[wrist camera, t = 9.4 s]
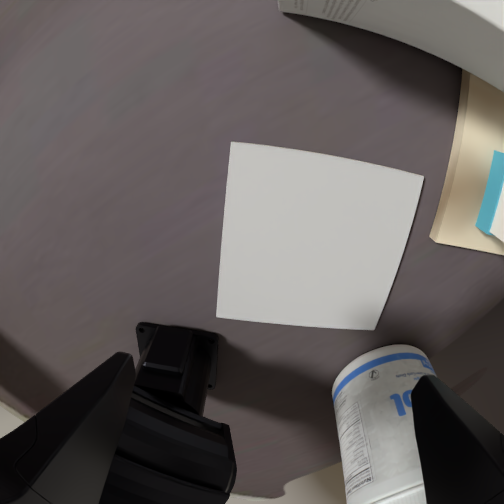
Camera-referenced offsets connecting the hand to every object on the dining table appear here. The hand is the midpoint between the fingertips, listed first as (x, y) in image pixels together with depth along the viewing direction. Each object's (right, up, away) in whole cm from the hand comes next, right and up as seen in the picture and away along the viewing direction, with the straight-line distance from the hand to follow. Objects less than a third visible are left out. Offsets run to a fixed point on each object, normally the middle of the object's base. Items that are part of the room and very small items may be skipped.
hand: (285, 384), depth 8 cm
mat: (+3, +4, +11) cm, 12 cm away
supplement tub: (+11, -8, +17) cm, 21 cm away
